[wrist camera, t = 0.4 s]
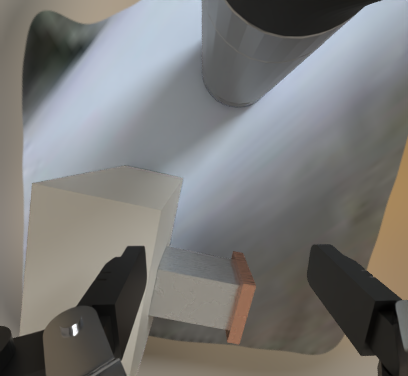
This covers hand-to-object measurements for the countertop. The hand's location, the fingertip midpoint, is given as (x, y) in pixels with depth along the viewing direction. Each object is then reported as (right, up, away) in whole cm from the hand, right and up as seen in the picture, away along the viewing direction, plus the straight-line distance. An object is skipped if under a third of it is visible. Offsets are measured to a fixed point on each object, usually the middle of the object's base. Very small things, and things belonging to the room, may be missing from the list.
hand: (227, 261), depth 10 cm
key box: (-10, -4, +20) cm, 23 cm away
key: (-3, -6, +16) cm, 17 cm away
